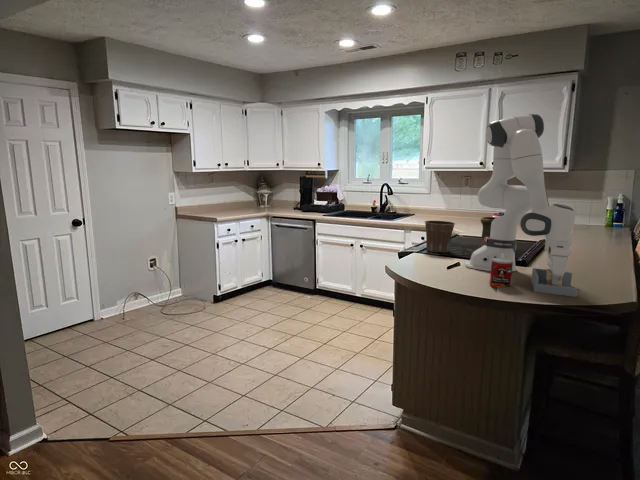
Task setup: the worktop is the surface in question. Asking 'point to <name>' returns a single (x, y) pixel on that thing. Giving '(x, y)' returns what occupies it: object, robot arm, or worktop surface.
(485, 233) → the vessel
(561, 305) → the worktop surface
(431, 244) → the plant pot
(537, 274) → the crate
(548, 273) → the birch block
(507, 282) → the canned food
